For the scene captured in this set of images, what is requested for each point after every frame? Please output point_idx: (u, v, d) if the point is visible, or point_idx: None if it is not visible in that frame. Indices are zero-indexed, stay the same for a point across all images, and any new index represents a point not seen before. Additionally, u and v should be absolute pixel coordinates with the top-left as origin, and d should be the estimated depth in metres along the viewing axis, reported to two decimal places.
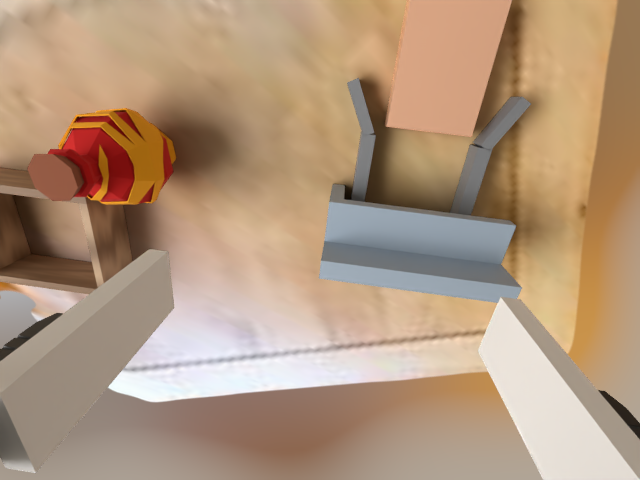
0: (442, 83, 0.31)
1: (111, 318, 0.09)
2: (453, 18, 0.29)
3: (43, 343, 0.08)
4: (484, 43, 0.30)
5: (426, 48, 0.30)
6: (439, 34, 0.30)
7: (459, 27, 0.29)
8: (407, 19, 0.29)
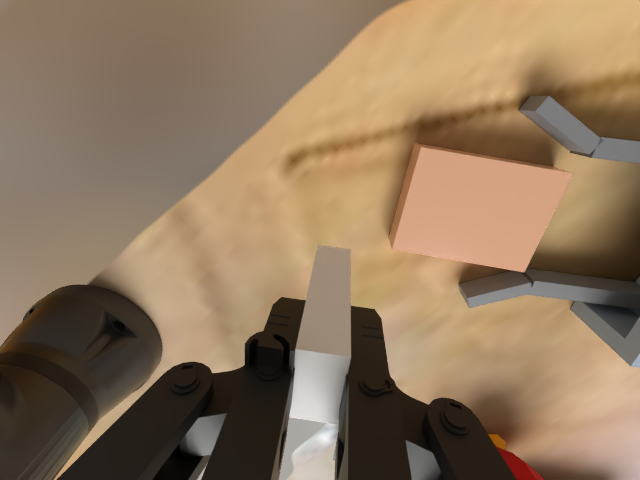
0: (493, 214, 0.26)
1: None
2: (428, 208, 0.26)
3: (315, 318, 0.10)
4: (461, 172, 0.25)
5: (451, 233, 0.27)
6: (440, 221, 0.27)
7: (438, 201, 0.26)
8: (418, 253, 0.28)
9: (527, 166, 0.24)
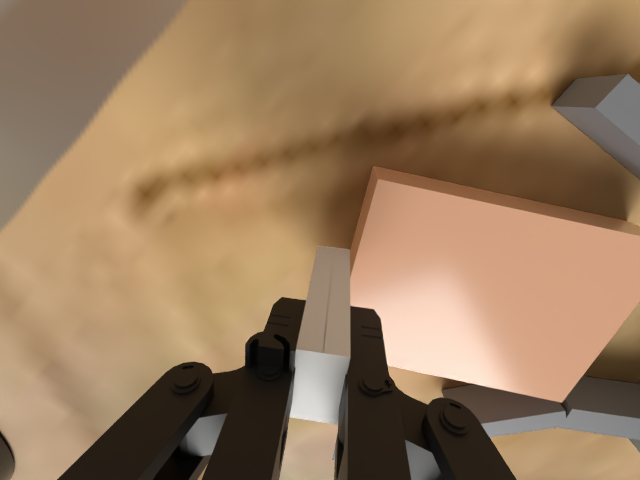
0: (515, 309, 0.14)
1: None
2: (392, 292, 0.14)
3: (316, 318, 0.10)
4: (457, 231, 0.13)
5: (435, 335, 0.15)
6: (415, 314, 0.14)
7: (411, 280, 0.14)
8: None
9: (590, 227, 0.12)
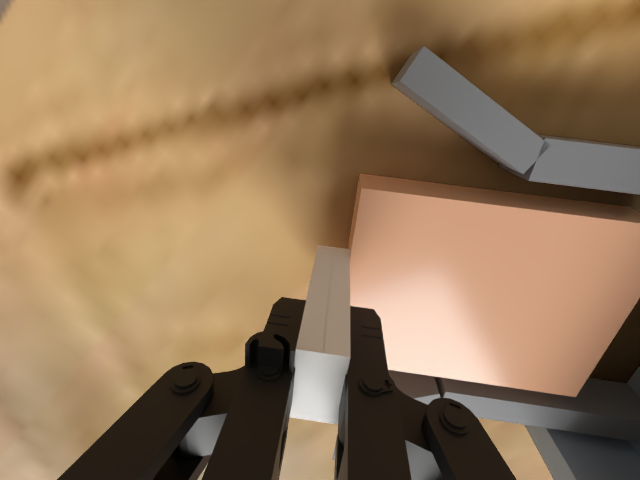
0: (515, 306, 0.14)
1: None
2: (388, 297, 0.14)
3: (316, 318, 0.10)
4: (446, 232, 0.12)
5: (436, 337, 0.15)
6: (414, 318, 0.14)
7: (406, 284, 0.14)
8: None
9: (584, 218, 0.12)
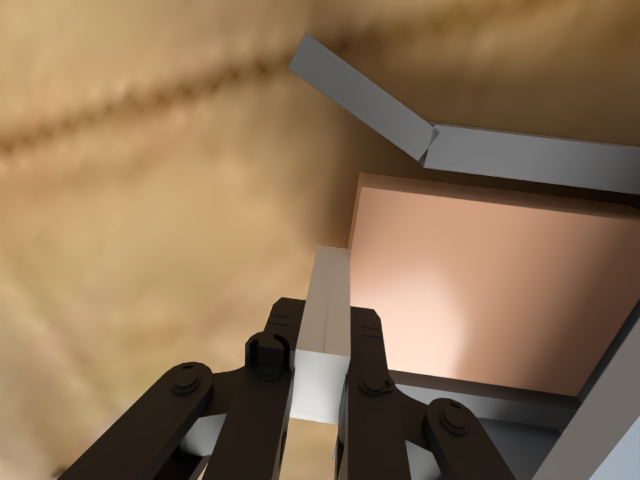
0: (516, 305, 0.14)
1: None
2: (389, 297, 0.14)
3: (316, 318, 0.10)
4: (447, 231, 0.12)
5: (437, 336, 0.15)
6: (414, 317, 0.14)
7: (406, 283, 0.14)
8: None
9: (584, 216, 0.12)
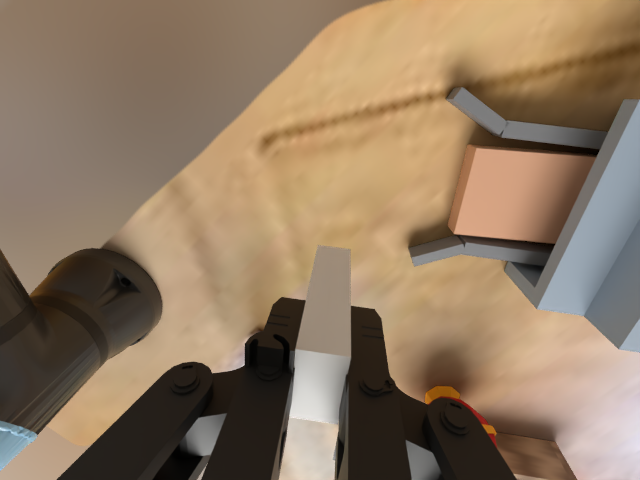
0: (540, 198, 0.31)
1: None
2: (483, 197, 0.32)
3: (315, 318, 0.10)
4: (511, 165, 0.30)
5: (504, 216, 0.33)
6: (494, 207, 0.32)
7: (492, 190, 0.32)
8: (477, 235, 0.34)
9: (567, 156, 0.30)
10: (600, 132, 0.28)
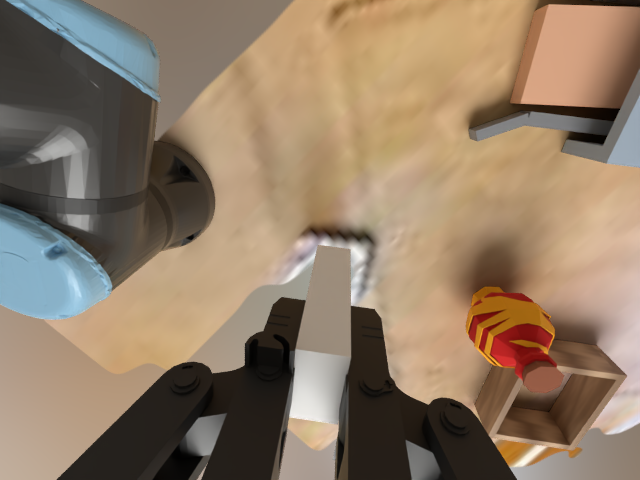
0: (608, 57, 0.32)
1: None
2: (552, 60, 0.33)
3: (315, 318, 0.10)
4: (581, 22, 0.31)
5: (571, 81, 0.33)
6: (562, 71, 0.33)
7: (561, 51, 0.32)
8: (543, 103, 0.35)
9: (638, 8, 0.31)
10: None
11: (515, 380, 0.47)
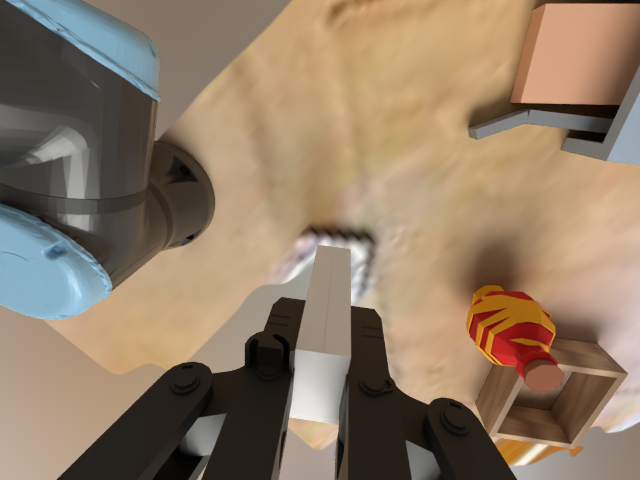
0: (608, 54, 0.32)
1: None
2: (551, 59, 0.33)
3: (316, 318, 0.10)
4: (580, 20, 0.31)
5: (571, 79, 0.33)
6: (562, 69, 0.33)
7: (560, 50, 0.32)
8: (543, 102, 0.35)
9: (636, 4, 0.30)
10: None
11: (516, 379, 0.47)
